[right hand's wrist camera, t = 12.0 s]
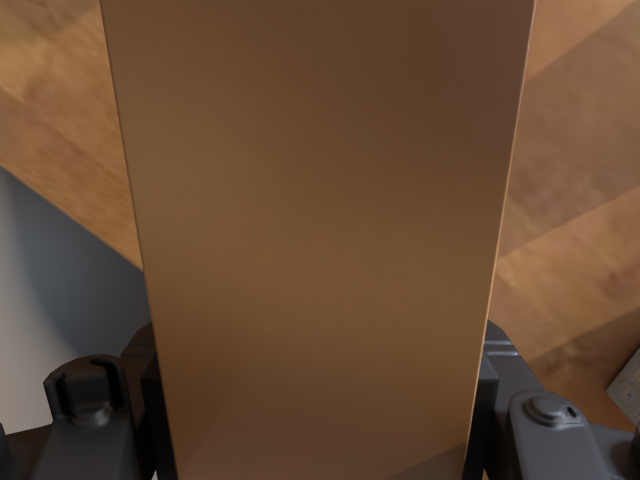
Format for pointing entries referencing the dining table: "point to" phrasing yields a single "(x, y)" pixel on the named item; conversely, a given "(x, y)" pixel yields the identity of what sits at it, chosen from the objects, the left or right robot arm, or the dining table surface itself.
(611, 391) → the hard drive box
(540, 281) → the dining table surface
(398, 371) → the post
